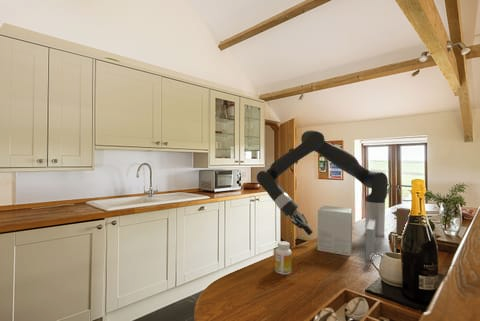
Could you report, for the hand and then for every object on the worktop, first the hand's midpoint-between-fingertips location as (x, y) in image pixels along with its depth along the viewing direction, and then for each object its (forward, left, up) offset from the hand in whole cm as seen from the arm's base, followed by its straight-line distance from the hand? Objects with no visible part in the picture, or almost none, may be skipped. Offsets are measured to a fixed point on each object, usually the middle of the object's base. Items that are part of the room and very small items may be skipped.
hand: (311, 233), depth 116 cm
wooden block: (-14, +38, -5) cm, 41 cm away
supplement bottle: (+35, -1, -5) cm, 35 cm away
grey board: (-4, +24, -5) cm, 25 cm away
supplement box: (0, +10, -5) cm, 12 cm away
